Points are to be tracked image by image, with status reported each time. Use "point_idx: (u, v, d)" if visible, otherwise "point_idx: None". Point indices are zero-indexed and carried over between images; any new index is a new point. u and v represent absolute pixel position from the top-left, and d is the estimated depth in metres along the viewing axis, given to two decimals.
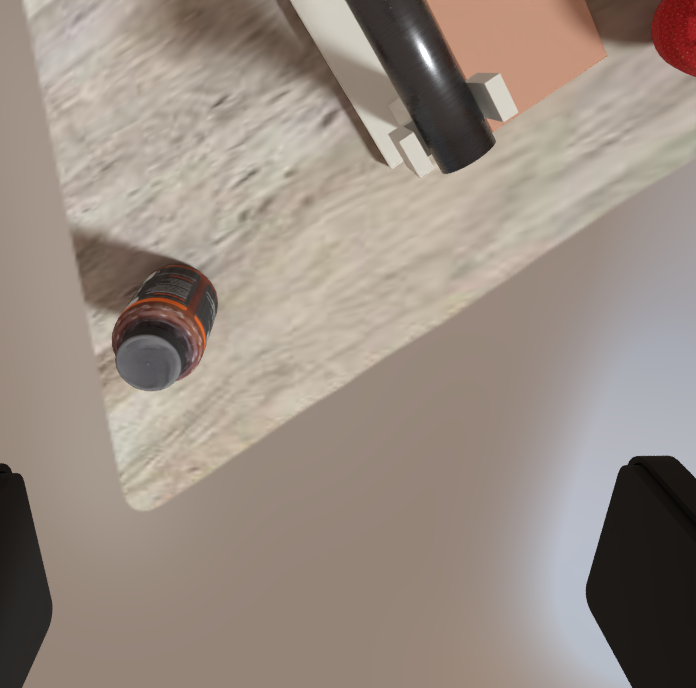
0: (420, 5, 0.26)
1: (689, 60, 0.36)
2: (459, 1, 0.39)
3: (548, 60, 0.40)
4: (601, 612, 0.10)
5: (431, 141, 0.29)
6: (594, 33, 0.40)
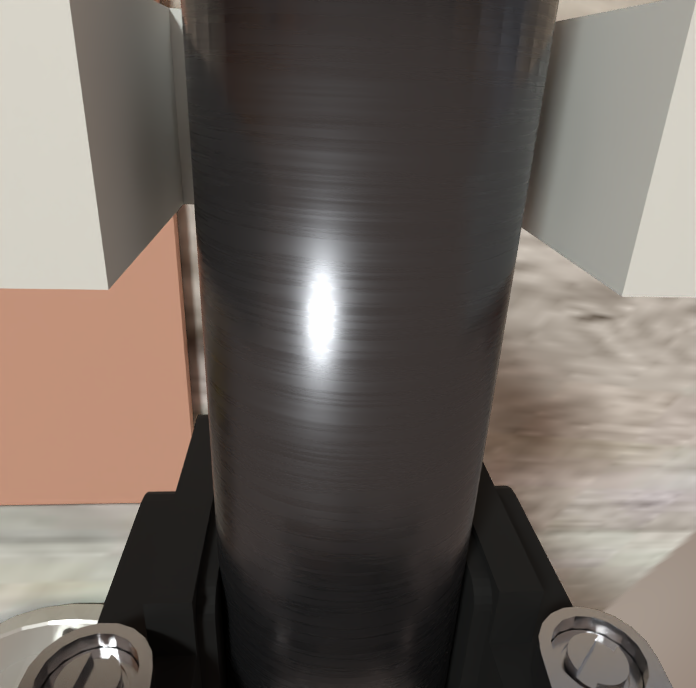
0: (249, 645, 0.06)
1: None
2: None
3: None
4: None
5: (530, 144, 0.05)
6: None
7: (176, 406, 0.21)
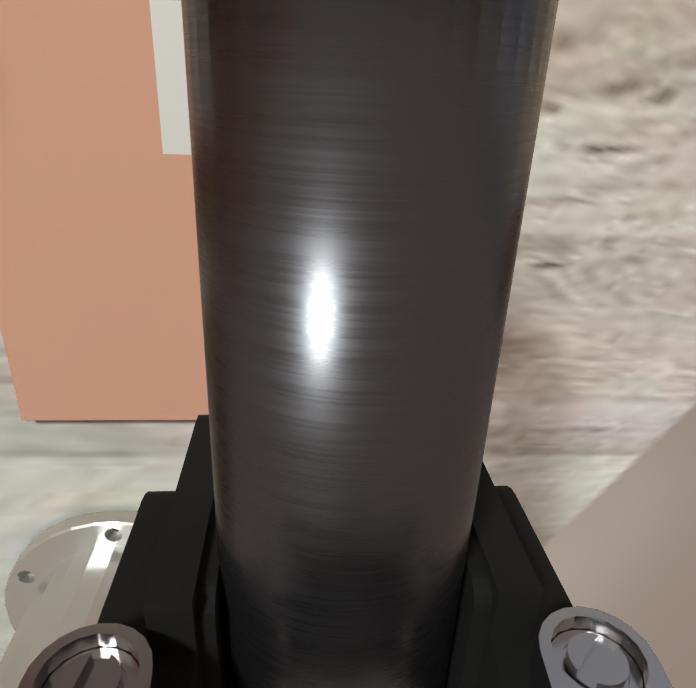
0: (249, 645, 0.06)
1: None
2: (155, 171, 0.23)
3: None
4: None
5: (529, 143, 0.05)
6: None
7: (202, 336, 0.26)
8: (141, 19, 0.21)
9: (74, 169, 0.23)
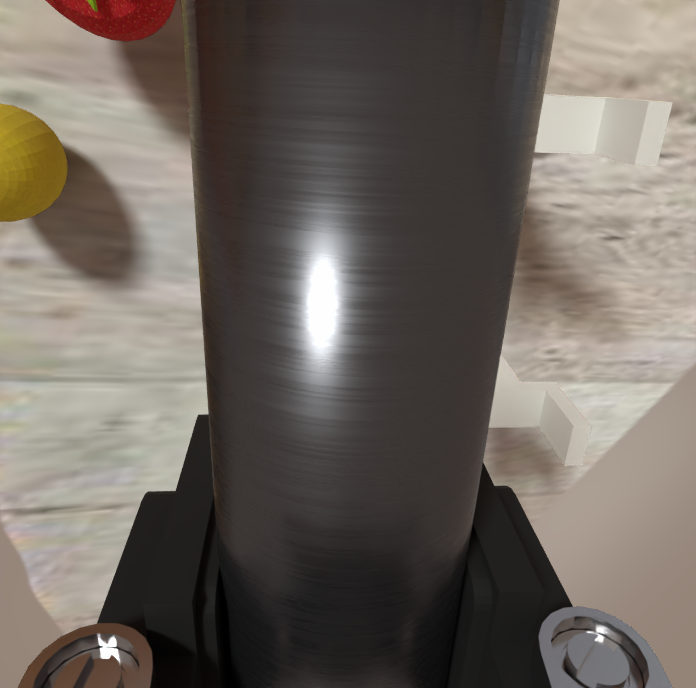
0: (248, 642, 0.06)
1: None
2: None
3: None
4: None
5: (532, 137, 0.05)
6: None
7: None
8: None
9: None
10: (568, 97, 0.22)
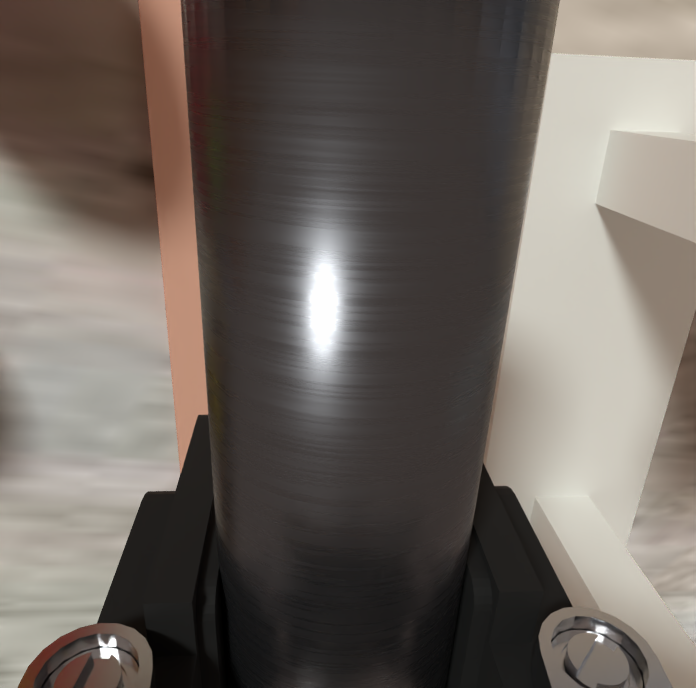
0: (248, 642, 0.06)
1: None
2: None
3: None
4: None
5: (532, 134, 0.05)
6: (149, 25, 0.15)
7: None
8: None
9: None
10: None
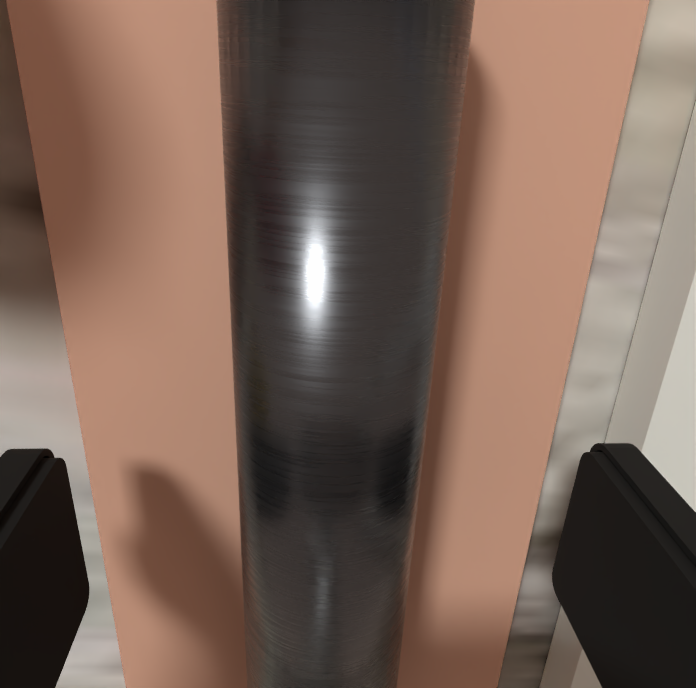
0: (260, 501, 0.09)
1: None
2: (471, 384, 0.11)
3: None
4: (565, 595, 0.10)
5: (455, 122, 0.07)
6: None
7: (488, 645, 0.14)
8: (515, 77, 0.09)
9: None
10: None
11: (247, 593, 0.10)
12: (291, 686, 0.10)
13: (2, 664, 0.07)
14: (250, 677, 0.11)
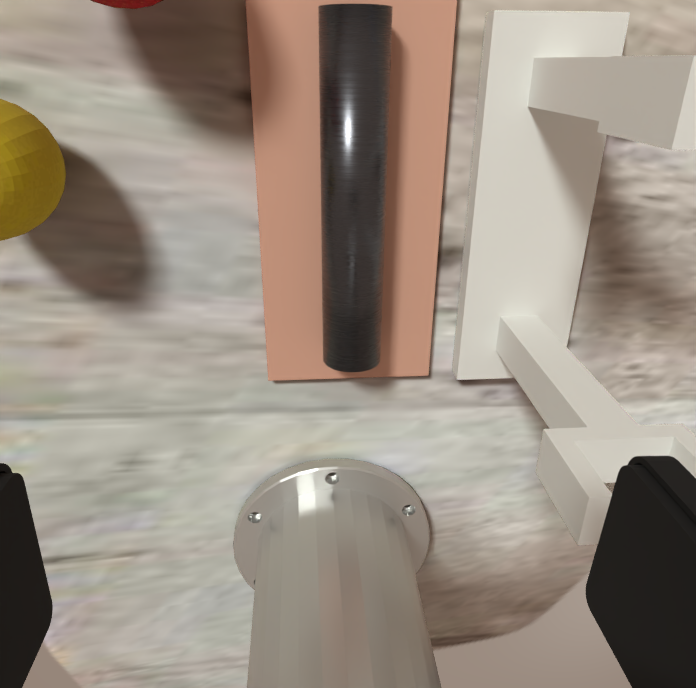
0: (331, 189, 0.26)
1: None
2: (407, 166, 0.28)
3: None
4: (601, 612, 0.10)
5: (388, 56, 0.24)
6: (251, 2, 0.25)
7: (425, 304, 0.31)
8: (413, 43, 0.26)
9: None
10: None
11: (324, 238, 0.27)
12: (342, 271, 0.27)
13: None
14: (325, 282, 0.28)
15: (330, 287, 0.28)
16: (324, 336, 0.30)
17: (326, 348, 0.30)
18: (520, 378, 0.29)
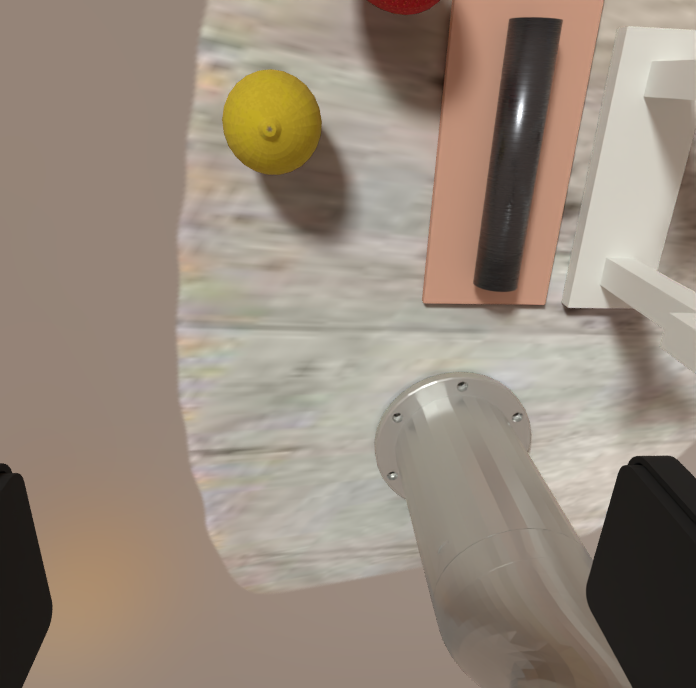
0: (504, 149, 0.36)
1: None
2: (550, 138, 0.38)
3: None
4: (601, 612, 0.10)
5: (556, 55, 0.34)
6: (457, 13, 0.35)
7: (549, 246, 0.41)
8: (565, 47, 0.36)
9: None
10: None
11: (492, 187, 0.37)
12: (504, 212, 0.37)
13: None
14: (487, 221, 0.38)
15: (492, 225, 0.38)
16: (479, 264, 0.39)
17: (481, 273, 0.39)
18: (628, 298, 0.38)
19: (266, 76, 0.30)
